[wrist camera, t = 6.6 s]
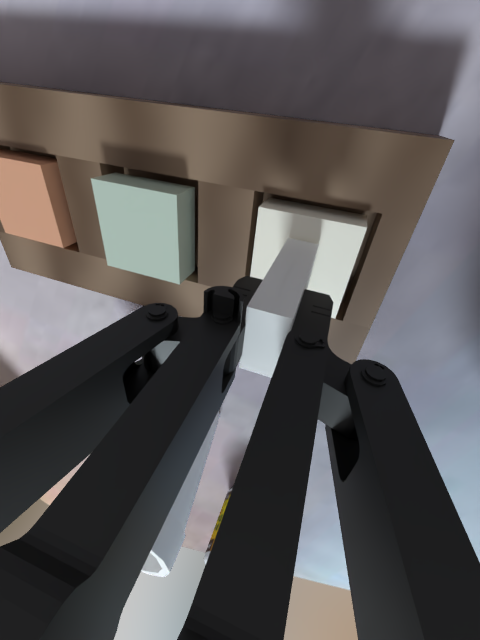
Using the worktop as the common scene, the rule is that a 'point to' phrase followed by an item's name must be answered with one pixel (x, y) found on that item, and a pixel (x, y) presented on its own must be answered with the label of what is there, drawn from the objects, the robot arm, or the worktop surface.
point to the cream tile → (316, 227)
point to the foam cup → (178, 515)
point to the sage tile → (147, 225)
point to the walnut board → (221, 189)
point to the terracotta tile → (34, 199)
